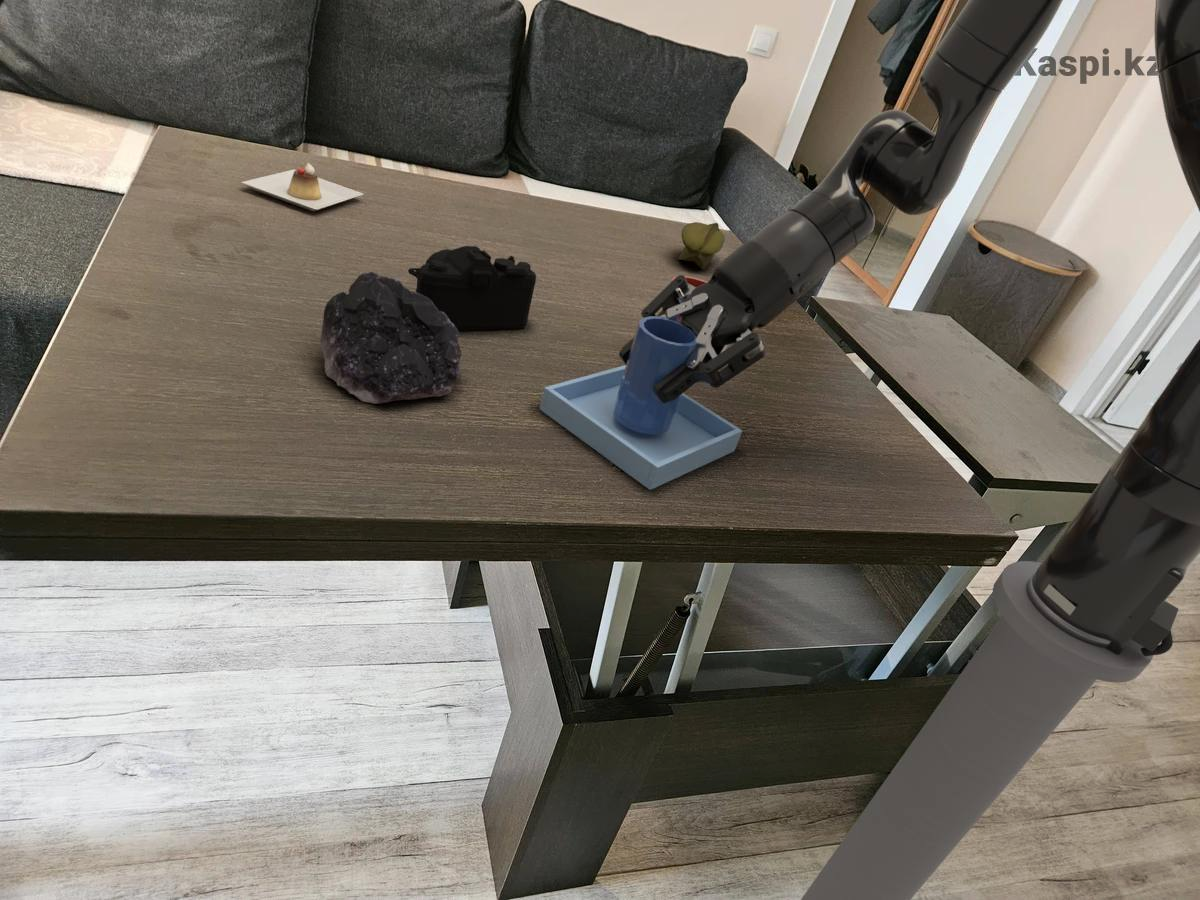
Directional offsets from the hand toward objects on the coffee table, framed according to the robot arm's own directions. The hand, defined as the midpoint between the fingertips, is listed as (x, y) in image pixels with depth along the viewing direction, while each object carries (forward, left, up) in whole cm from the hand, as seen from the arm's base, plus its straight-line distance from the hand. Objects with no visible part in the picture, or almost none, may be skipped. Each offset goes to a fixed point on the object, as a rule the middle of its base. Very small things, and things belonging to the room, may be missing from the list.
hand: (640, 378), depth 77 cm
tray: (-1, -2, -6) cm, 6 cm away
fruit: (+31, -55, -6) cm, 63 cm away
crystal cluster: (+18, +15, -6) cm, 25 cm away
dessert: (+66, -3, -6) cm, 67 cm away
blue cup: (0, -2, -5) cm, 5 cm away
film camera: (+27, -1, -6) cm, 28 cm away
